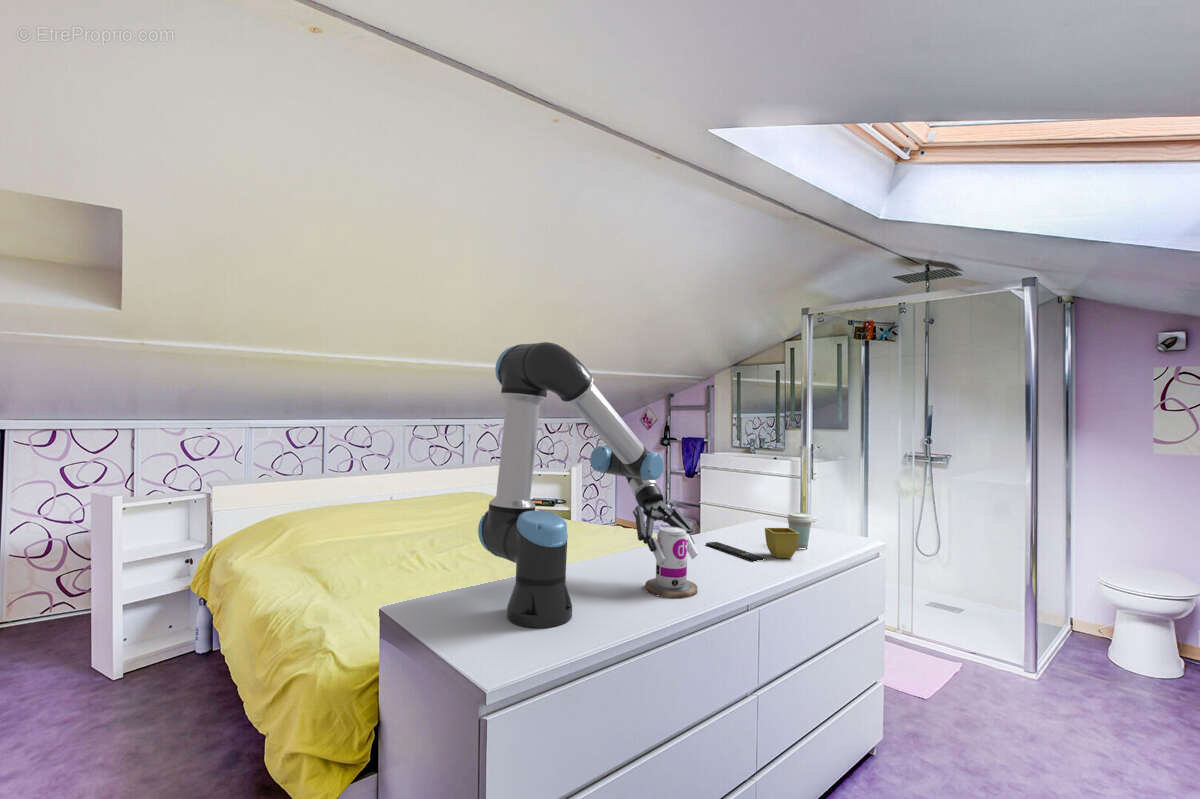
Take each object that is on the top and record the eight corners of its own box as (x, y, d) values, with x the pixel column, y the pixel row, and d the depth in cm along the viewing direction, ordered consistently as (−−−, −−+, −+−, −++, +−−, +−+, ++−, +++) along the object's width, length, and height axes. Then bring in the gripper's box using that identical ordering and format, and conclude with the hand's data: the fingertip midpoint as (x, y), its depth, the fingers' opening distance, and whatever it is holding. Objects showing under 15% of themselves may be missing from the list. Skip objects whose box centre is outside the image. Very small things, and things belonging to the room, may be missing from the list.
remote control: (752, 563, 187) (752, 559, 187) (704, 546, 208) (704, 542, 208) (764, 561, 189) (764, 557, 189) (716, 545, 210) (716, 541, 210)
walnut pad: (666, 601, 146) (666, 596, 146) (635, 585, 158) (635, 581, 158) (708, 593, 153) (708, 588, 154) (675, 579, 166) (675, 574, 166)
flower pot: (763, 553, 199) (764, 527, 199) (787, 553, 200) (788, 527, 200) (773, 560, 190) (774, 532, 190) (799, 560, 191) (799, 533, 191)
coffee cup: (807, 545, 212) (808, 512, 212) (814, 551, 203) (815, 517, 204) (784, 544, 213) (785, 511, 213) (789, 549, 204) (790, 516, 204)
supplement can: (692, 586, 155) (694, 531, 155) (669, 591, 150) (671, 534, 150) (672, 578, 162) (674, 525, 162) (649, 582, 157) (651, 527, 157)
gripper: (672, 497, 175) (704, 561, 162) (607, 501, 164) (637, 571, 150) (683, 482, 171) (718, 546, 157) (618, 485, 159) (649, 555, 145)
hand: (678, 558), depth 154 cm, fingers open, 10 cm apart
